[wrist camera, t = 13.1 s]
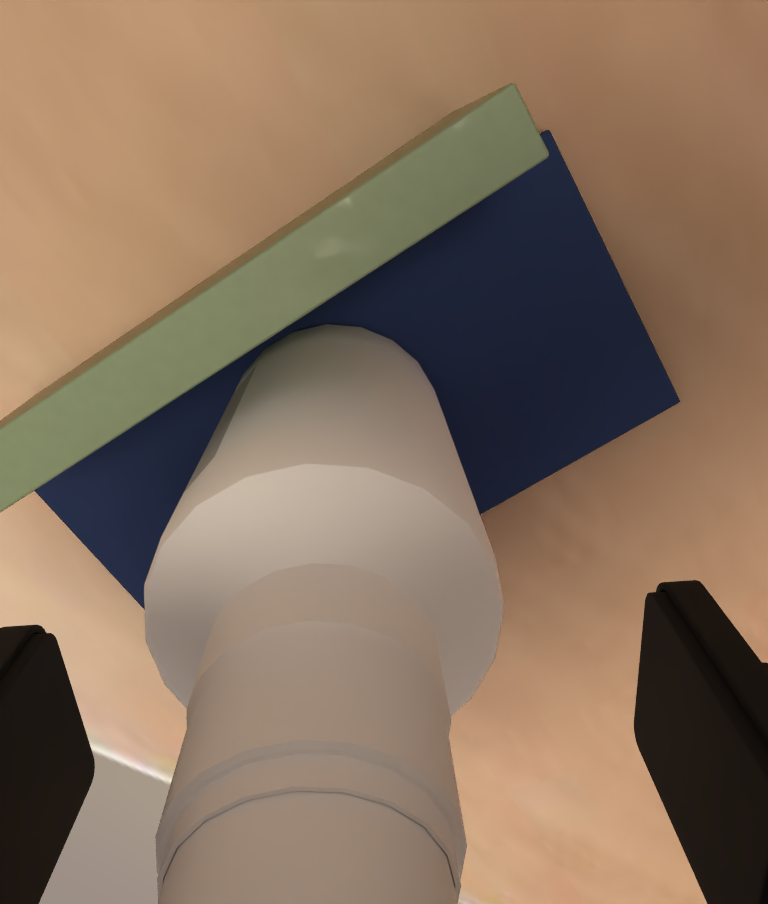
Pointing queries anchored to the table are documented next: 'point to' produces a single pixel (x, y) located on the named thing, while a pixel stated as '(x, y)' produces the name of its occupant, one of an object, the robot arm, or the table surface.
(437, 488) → the white capped bottle
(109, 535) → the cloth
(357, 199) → the backboard
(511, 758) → the table surface
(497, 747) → the table surface
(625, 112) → the table surface
